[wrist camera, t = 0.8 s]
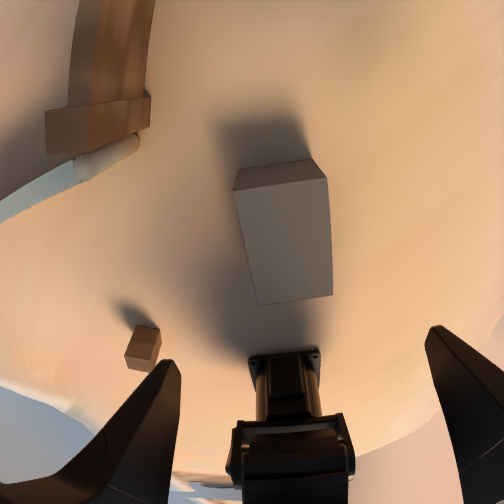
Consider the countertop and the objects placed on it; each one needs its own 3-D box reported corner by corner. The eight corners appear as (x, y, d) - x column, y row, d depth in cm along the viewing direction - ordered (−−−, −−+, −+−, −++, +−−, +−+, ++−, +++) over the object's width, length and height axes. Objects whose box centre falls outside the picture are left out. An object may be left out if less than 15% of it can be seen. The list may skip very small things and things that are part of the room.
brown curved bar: (131, -8, 10) (69, -43, 4) (165, -12, 10) (115, -58, 4) (139, 338, 24) (116, 402, 18) (161, 342, 24) (143, 408, 18)
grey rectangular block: (320, 258, 20) (333, 294, 16) (258, 267, 20) (258, 305, 17) (311, 158, 16) (326, 177, 13) (238, 169, 17) (232, 191, 13)
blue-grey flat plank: (136, 130, 15) (89, 150, 10) (142, 149, 15) (98, 176, 11) (-5, 204, 17) (-46, 235, 12) (0, 216, 18) (-40, 248, 13)
